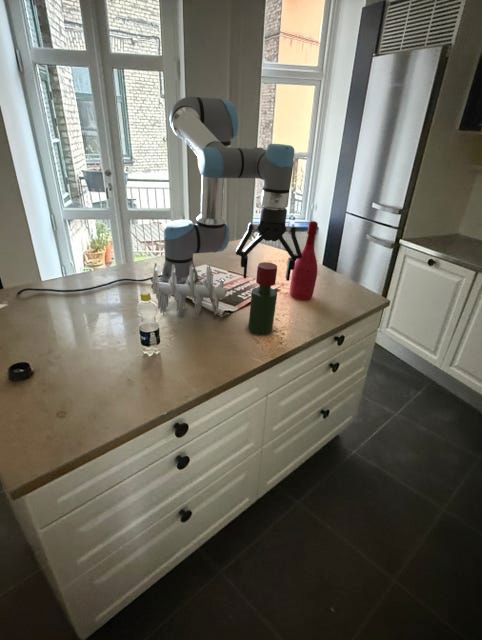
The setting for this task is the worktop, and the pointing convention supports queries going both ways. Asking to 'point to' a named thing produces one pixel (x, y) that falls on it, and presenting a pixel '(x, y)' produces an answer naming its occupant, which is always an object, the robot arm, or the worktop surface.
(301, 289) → the wine bottle
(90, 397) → the worktop surface
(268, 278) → the cap
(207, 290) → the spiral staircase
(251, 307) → the oil bottle
